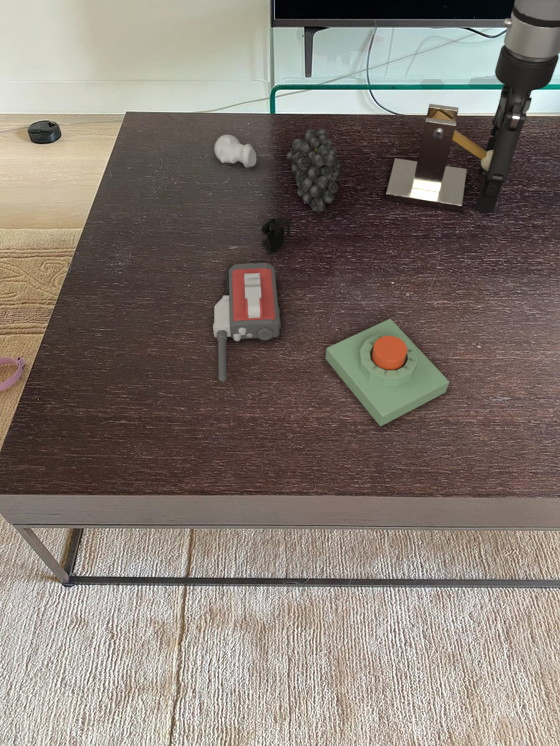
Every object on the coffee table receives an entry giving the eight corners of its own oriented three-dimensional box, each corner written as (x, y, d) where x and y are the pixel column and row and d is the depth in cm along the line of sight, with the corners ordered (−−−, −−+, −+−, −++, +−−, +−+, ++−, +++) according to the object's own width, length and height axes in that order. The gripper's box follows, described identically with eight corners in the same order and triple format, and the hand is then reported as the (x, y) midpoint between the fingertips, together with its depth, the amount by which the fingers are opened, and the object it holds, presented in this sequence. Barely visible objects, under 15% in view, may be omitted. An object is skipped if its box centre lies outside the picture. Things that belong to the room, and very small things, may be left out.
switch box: (445, 392, 77) (453, 372, 74) (380, 426, 74) (384, 408, 70) (387, 329, 83) (392, 308, 80) (325, 358, 80) (327, 338, 77)
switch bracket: (465, 175, 104) (485, 102, 94) (460, 211, 98) (481, 138, 88) (393, 164, 106) (406, 91, 96) (385, 199, 100) (397, 126, 90)
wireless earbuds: (266, 263, 91) (265, 236, 87) (252, 256, 92) (251, 229, 88) (293, 237, 94) (294, 210, 90) (279, 231, 95) (280, 204, 91)
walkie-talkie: (214, 275, 89) (214, 387, 77) (211, 252, 86) (211, 366, 73) (275, 272, 89) (285, 384, 77) (275, 249, 86) (285, 362, 74)
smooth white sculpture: (211, 162, 108) (231, 143, 109) (242, 181, 104) (263, 161, 105) (203, 144, 104) (224, 124, 105) (235, 163, 100) (256, 142, 101)
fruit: (334, 173, 89) (331, 114, 98) (279, 187, 91) (281, 128, 100) (348, 218, 95) (344, 159, 104) (297, 231, 98) (297, 172, 107)
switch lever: (493, 167, 98) (507, 153, 96) (491, 179, 96) (507, 165, 94) (426, 122, 95) (440, 106, 93) (424, 133, 93) (438, 117, 91)
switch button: (411, 362, 75) (414, 352, 74) (384, 375, 74) (386, 366, 72) (391, 340, 77) (393, 330, 76) (365, 352, 76) (367, 343, 74)
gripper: (505, 11, 89) (466, 151, 107) (498, 85, 76) (456, 230, 94) (559, 17, 88) (511, 158, 106) (561, 93, 75) (506, 239, 93)
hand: (485, 192), depth 100 cm, fingers open, 9 cm apart
